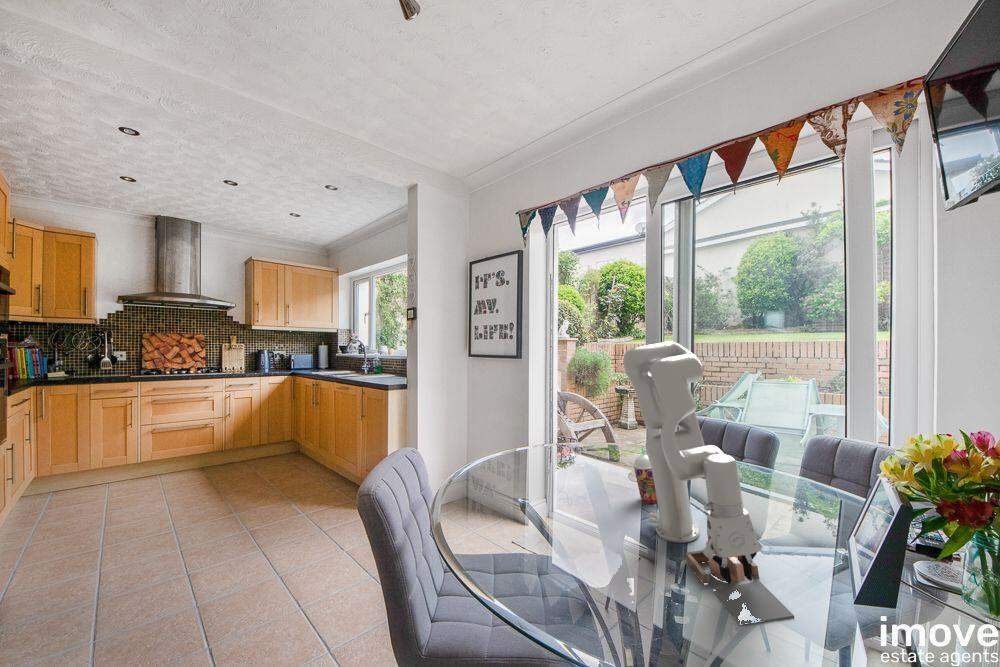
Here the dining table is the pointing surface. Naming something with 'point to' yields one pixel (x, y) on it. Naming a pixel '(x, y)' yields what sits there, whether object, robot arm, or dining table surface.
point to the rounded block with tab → (733, 565)
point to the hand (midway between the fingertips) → (736, 577)
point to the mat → (753, 602)
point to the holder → (699, 557)
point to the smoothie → (645, 478)
